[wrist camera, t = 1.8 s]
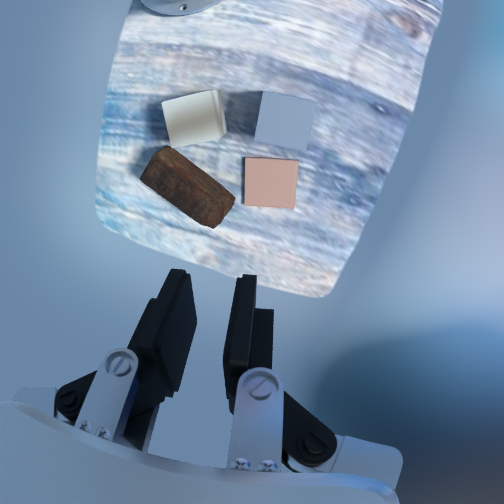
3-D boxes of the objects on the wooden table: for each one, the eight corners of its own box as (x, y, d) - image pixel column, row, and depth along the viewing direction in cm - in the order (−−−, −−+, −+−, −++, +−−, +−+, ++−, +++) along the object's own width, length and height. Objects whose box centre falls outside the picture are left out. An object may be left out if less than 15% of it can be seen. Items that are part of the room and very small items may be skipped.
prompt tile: (245, 156, 30) (245, 157, 30) (298, 159, 30) (298, 161, 30) (244, 204, 34) (244, 205, 33) (293, 207, 33) (294, 208, 33)
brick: (152, 168, 32) (136, 180, 28) (169, 143, 30) (153, 153, 26) (218, 217, 35) (211, 235, 31) (237, 195, 33) (232, 212, 30)
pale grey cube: (177, 99, 27) (161, 102, 23) (220, 89, 26) (210, 90, 22) (186, 139, 30) (171, 148, 26) (227, 131, 29) (219, 139, 25)
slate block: (264, 90, 26) (263, 91, 22) (310, 100, 26) (316, 102, 22) (256, 132, 29) (253, 140, 25) (300, 141, 29) (305, 151, 25)
